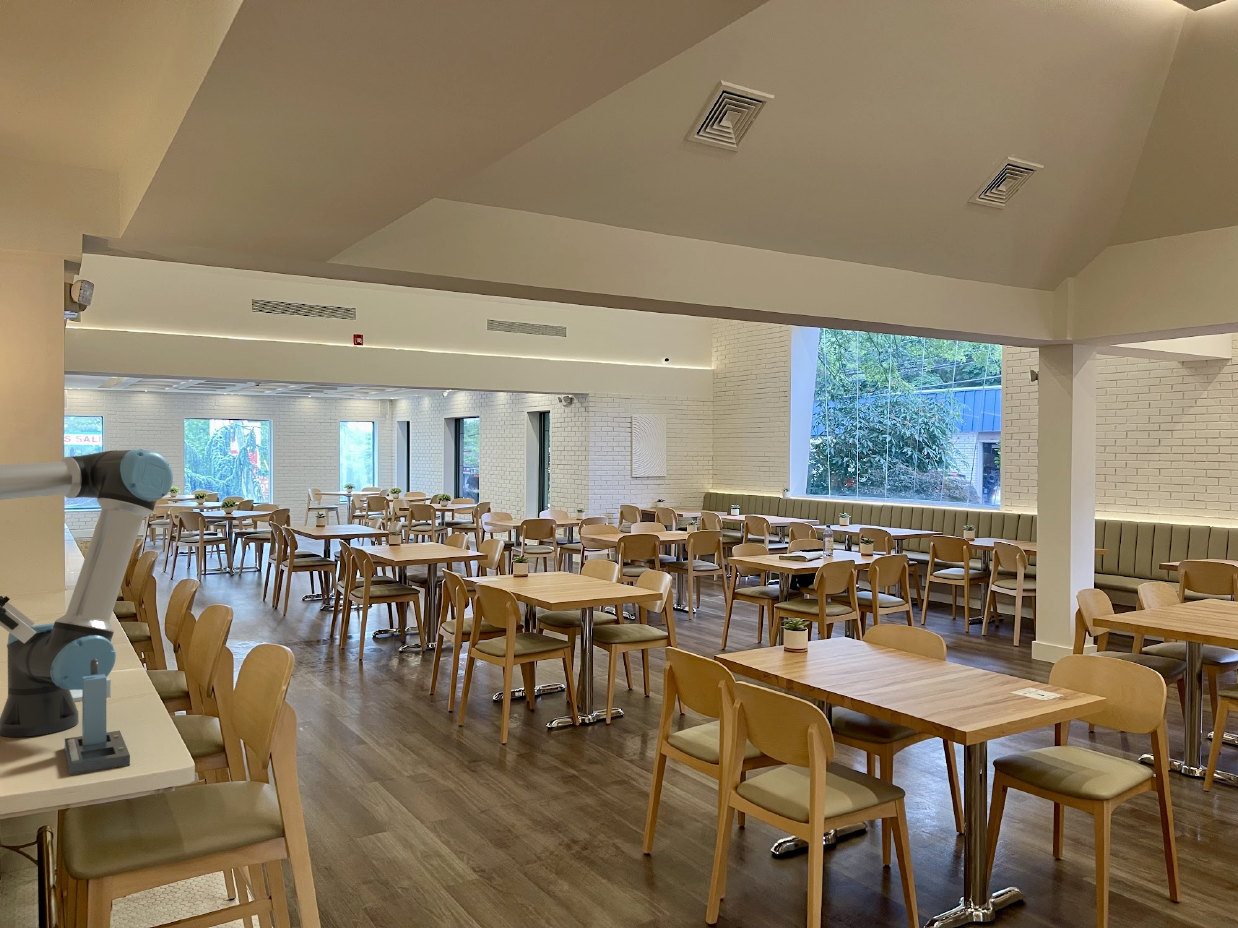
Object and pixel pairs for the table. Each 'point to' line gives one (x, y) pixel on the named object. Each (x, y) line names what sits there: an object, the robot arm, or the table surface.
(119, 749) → the port panel
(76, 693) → the hard drive
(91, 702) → the plug
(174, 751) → the table surface
